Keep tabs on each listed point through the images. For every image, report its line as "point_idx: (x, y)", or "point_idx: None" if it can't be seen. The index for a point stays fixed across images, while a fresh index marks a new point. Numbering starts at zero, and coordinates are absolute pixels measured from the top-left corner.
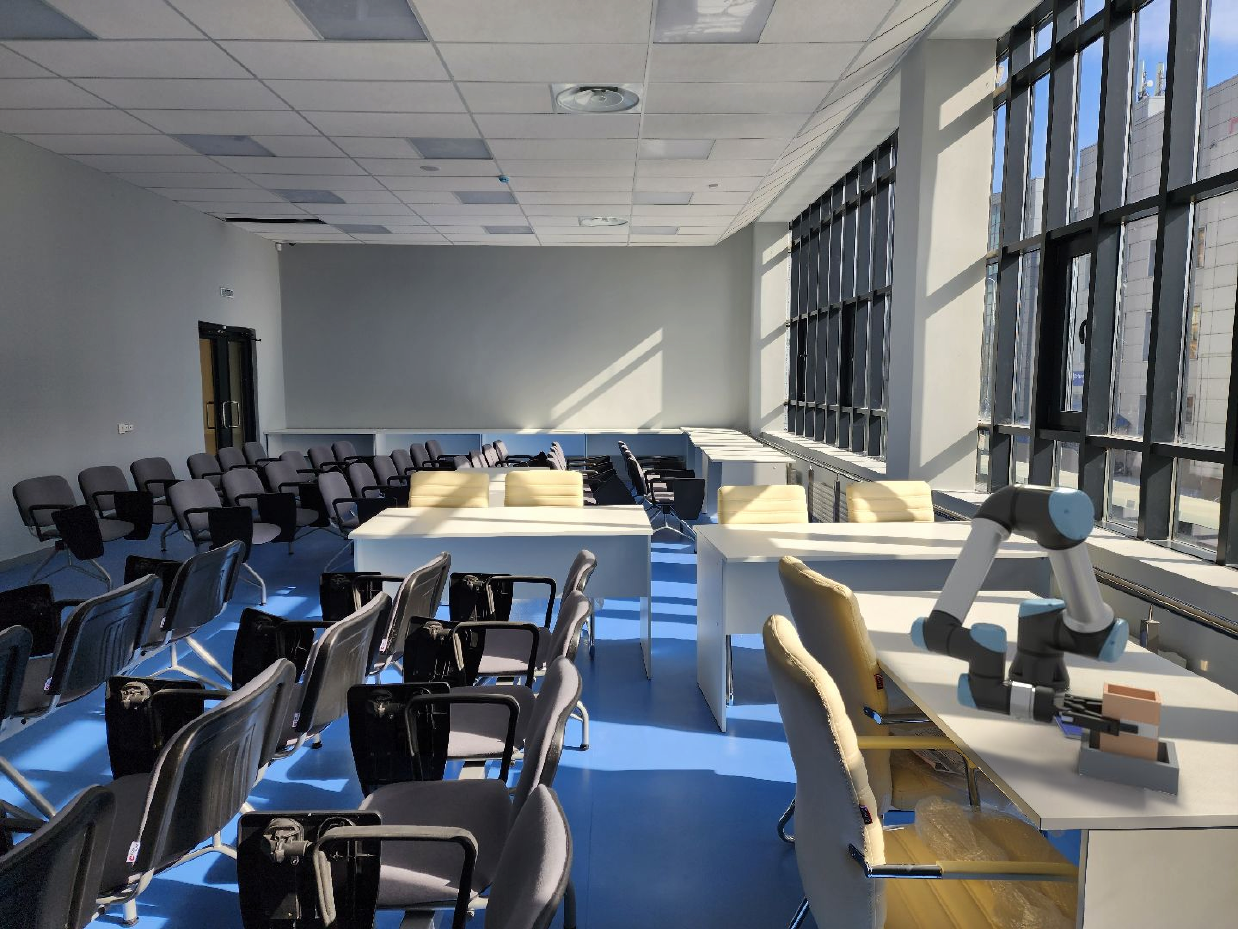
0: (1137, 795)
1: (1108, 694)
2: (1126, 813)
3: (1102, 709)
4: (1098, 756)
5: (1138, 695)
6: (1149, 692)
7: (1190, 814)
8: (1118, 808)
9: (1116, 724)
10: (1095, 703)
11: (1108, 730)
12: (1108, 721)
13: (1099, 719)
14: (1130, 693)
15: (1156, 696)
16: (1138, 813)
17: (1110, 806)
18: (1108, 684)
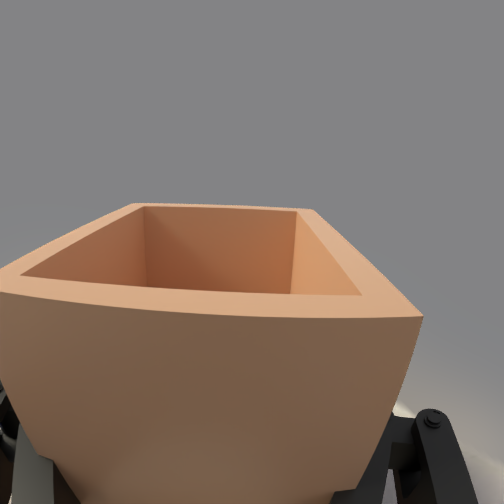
0: (391, 485)
1: (399, 296)
2: (501, 471)
3: (371, 456)
4: None
5: (121, 256)
6: (136, 217)
7: (397, 405)
8: (495, 487)
9: (405, 420)
10: (37, 494)
11: (408, 474)
12: (438, 437)
13: (457, 476)
14: (103, 266)
15: (217, 206)
16: (481, 460)
17: (501, 499)
18: (20, 277)
